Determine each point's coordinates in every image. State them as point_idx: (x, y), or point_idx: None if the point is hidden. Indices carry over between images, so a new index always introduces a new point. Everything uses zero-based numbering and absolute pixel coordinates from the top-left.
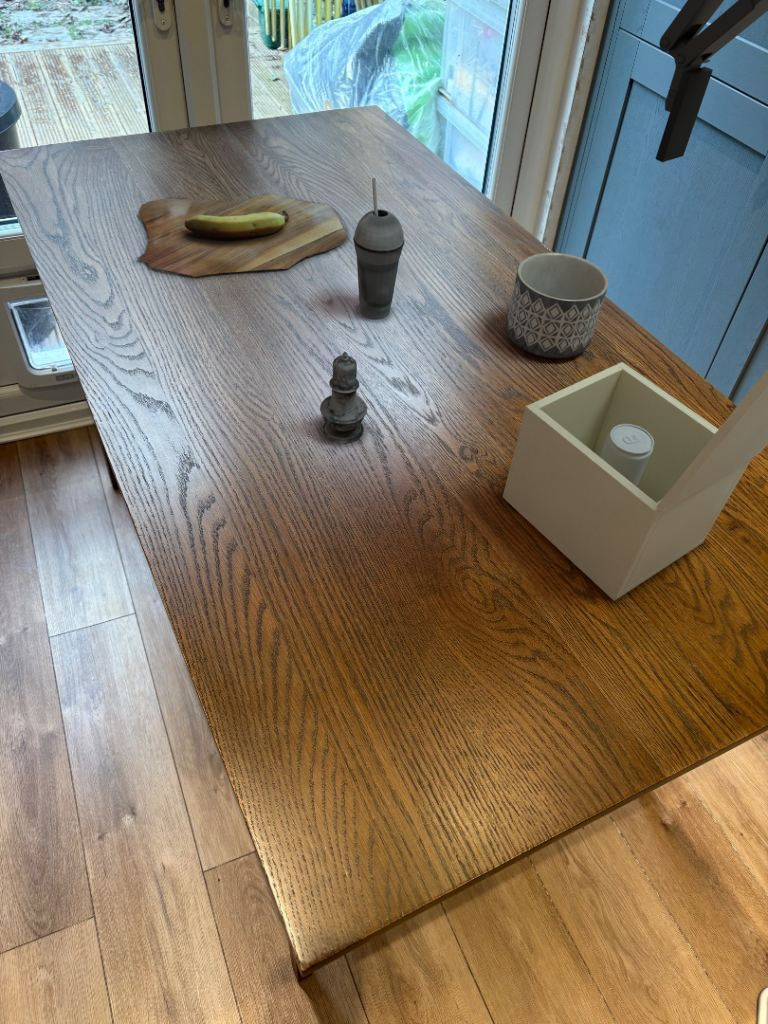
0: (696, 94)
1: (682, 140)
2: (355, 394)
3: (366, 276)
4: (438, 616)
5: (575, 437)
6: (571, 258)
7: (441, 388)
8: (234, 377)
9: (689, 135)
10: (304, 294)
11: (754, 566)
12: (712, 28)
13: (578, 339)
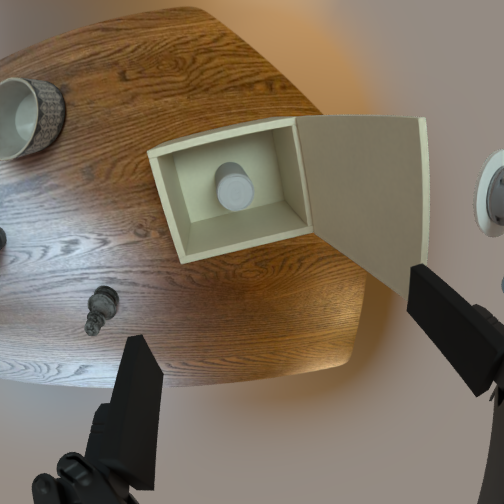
0: (138, 438)
1: (145, 369)
2: (101, 311)
3: None
4: (258, 296)
5: (174, 180)
6: None
7: (74, 222)
8: (59, 334)
9: (137, 362)
10: None
11: (304, 99)
12: None
13: (57, 107)
